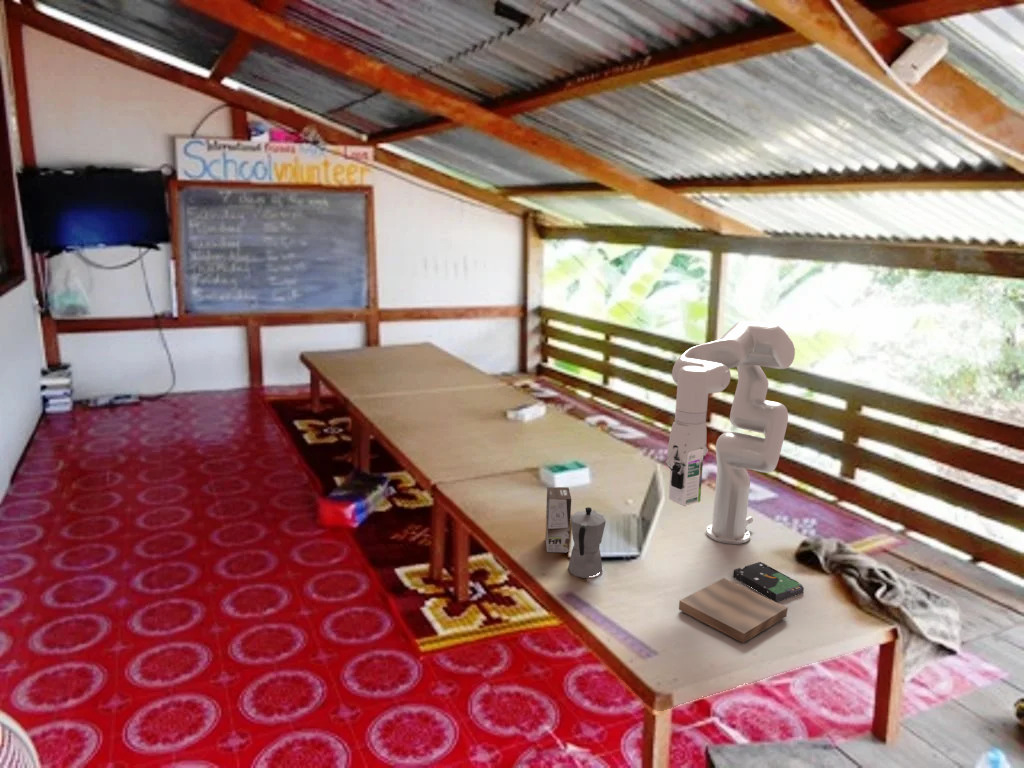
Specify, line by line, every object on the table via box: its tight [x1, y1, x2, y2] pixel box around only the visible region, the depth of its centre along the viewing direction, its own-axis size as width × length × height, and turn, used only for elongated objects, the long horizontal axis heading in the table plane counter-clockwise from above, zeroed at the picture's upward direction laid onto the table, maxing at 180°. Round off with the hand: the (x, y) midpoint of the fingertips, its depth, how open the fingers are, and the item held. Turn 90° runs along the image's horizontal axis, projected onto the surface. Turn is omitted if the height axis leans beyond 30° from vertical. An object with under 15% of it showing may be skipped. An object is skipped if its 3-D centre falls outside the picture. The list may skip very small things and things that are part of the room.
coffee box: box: [545, 486, 573, 554], centre depth 218 cm, size 9×6×16 cm
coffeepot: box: [567, 506, 606, 579], centre depth 203 cm, size 15×9×18 cm, turn 163°
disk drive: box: [732, 561, 805, 603], centre depth 201 cm, size 10×3×15 cm
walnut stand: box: [678, 577, 789, 644], centre depth 186 cm, size 18×18×3 cm
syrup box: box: [668, 448, 704, 507], centre depth 195 cm, size 6×6×14 cm
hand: (685, 483), depth 196 cm, fingers closed on syrup box, 6 cm apart
